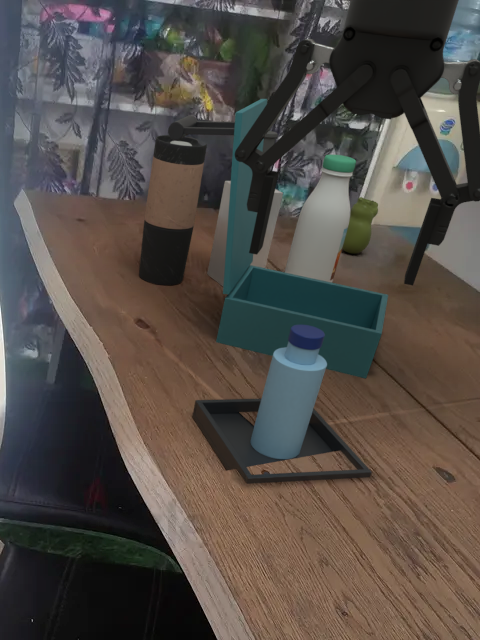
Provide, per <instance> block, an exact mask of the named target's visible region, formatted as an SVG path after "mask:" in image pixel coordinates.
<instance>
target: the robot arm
mask: <svg viewBox="0 0 480 640" xmlns="http://www.w3.org/2000/svg"><path fill="white" fill-rule="evenodd" d="M458 4H459V0H350V1H349V4H348V9H347V13H346V16H345V20H344V21H345V22H344V25H343V29H342V33H341V36H340V39H339V41H338V42H337V44H336V46H334V47H332V46H328V45H325V44H321V43H317V42H316V41H315V39H313V38H305V39H302V40H300V41H299V43H297V46H296V48H295V51H294V56H293V58H292V61H291V64H290V68H289V70H288V73H287V74H286V75H285V76H284V79H282V81H281V83H280V85H278V87H277V88H276V90H275V92H274V93H273V94H272V96H271V98H270V99H269V101H267V105H266V106H265V108H264V109H263V111H262V112H261V114H260V115H259V117H258V118H257V120H256V121H255V123H254V124H253V126H252V127H251V129H250V130H249V131H248V133H247V134H246V136H245V137H244V139H243V140H242V142H241V143H240V145H239V146H238V148H237V149H236V151H235V159H236V160H237V161H239V162H243V163H244V164H246V165H248V166H249V167H250V168H251V170H252V180H251V185H250V190H249V195H248V201H247V209H248V211H252V212H257V217H256V222H255V226H254V231H253V236H252V241H251V246H250V250H249V253H251V254H256V255H257V254H258V253H259V251H260V250H261V249H262V247H263V243H264V238H265V234H266V229H267V225H268V220H269V215H270V211H271V206H272V202H273V197H274V192H275V189H277V188H276V187H277V183H278V179H279V174H280V172H279V171H276V170H271V168H272V166H273V165H275V164H276V163H277V162H278V161H280V159H282V158H283V157H284V156H285V155H286V154H287V153H288V152H290V151H291V150H292V149H293V148H294V147H295V146H296V145H297V144H298V143H299V142H300V141H302V140H303V139H304V138H305V137H306V136H308V135H309V134H310V133H311V132H312V131H313V130H315V128H317V127H318V126H319V125H320V124H321V123H322V122H323V121H325V120H326V119H327V118H328V117H329V116H330V115H332V113H334V112H335V111H336V110H337V109H339V107H340V106H342V105H343V107H344V108H345V110H347V111H348V112H350V114H352V115H356V116H364V115H365V116H366V115H373V116H375V117H378V118H380V119H384V120H385V119H386V120H392V119H396V118H398V117H401V116H402V115H404V116H405V118H406V120H407V123H408V125H409V127H410V129H411V131H412V133H413V135H414V138H415V140H416V142H417V145H418V146H419V149H420V152H421V154H422V157H423V159H424V161H425V163H426V166H427V168H428V170H429V173H430V175H431V177H432V180H433V182H434V184H435V186H436V189H437V192H438V193H439V196H440V198H435V197H430V201H429V203H428V206H427V210H426V212H425V214H424V218H423V221H422V224H421V227H420V229H419V232H418V236H417V239H416V241H415V245H414V248H413V250H412V254H411V255H410V259H409V262H408V265H407V267H406V271H405V274H404V280H403V284H404V285H408V286H414V285H415V281H416V278H417V276H418V273H419V270H420V267H421V265H422V261H423V258H424V255H425V253H426V249H427V247H428V245H433V246H440V245H441V244H442V243H443V241H444V240H445V238H446V236H447V232H448V230H449V226H450V224H451V221H452V219H453V215H454V213H455V211H456V209H457V207H458V206H460V205H462V204H464V203H469V202H475V203H476V202H480V121H479V109H478V101H477V100H478V99H477V94H478V91H479V86H480V60H479V59H476V58H472V59H469V60H468V61H445V60H444V59H445V58H444V49H445V46H446V42H447V39H448V36H449V33H450V29H451V27H452V23H453V19H454V16H455V14H456V13H455V12H456V10H457V7H458ZM323 64H328V66H329V69H330V72H331V74H332V78H333V80H334V83H335V86H336V88H334V90H332V91H331V92H330V93H329V94H328V95H327V96H326V97H324V99H322V101H320V102H319V103H318V104H317V105H316V106H314V108H312V110H310V111H309V112H308V113H307V114H306V115H305V116H304V117H303V118H301V119H300V120H299V121H298V122H297V123H296V124H295V125H294V126H292V128H290V129H289V130H288V131H286V133H285V134H284V135H283V136H282V137H280V138H279V139H278V140H277V141H275V143H274V145H273V146H272V147H270V148H269V149H268V150H267V151H266V152H265V153H263V152H262V151H260V150H258V149H257V147H258V146H259V144H260V143H261V141H262V140H263V139H264V137H265V136H266V134H267V133H268V131H271V129H272V127H273V126H274V125H275V123H276V122H277V120H278V119H279V117H280V116H281V114H282V113H283V111H284V110H285V108H286V107H287V106H288V104H289V103H290V101H291V100H292V99H293V97H294V96H295V94H296V93H297V92H298V90H299V88H300V87H301V86H302V85H303V83H304V81H305V79H306V77H307V76H308V75H313V74H315V73H317V72H318V71H319V69H320V68H321V66H323ZM441 79H445V80H446V81H447V82H448V90H449V92H450V93H451V94H453V95H458V96H457V104H458V105H457V106H458V114H459V115H458V116H459V124H460V130H461V139H462V148H463V155H464V165H465V172H466V180H467V182H463V183H458V184H457V182H456V179H455V177H454V175H453V171H452V169H451V167H450V165H449V163H448V159H447V158H446V156H445V154H444V153H445V152H444V151H443V148H442V146H441V144H440V141H439V139H438V136H437V134H436V132H435V130H434V126H433V125H432V122H431V119H430V117H429V115H428V112H427V109H426V107H425V105H424V102H423V100H422V97H424V95H426V94H427V93H428V92H429V91H430V90H431V89H432V88H433V87H434V86H435V85H437V84H438V82H439V81H440V80H441Z"/></svg>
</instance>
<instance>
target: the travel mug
mask: <svg viewBox="0 0 480 640" xmlns="http://www.w3.org/2000/svg"><path fill="white" fill-rule="evenodd" d="M153 148H154V149H153V156H152V161H151V162H152V163H151V170H150V177H149V182H148V183H149V184H148V191H147V198H146V205H145V210H144V211H145V212H144V221H143V229H142V239H141V249H140V258H139V260H140V261H139V268H138V276H139V278H141V280H143V281H145V282H147V283H151V284H154V285H159V286H176V285H179V284H181V283H182V282H183V280H184V276H185V271H186V266H187V262H188V256H189V251H190V247H191V242H192V238H193V232H194V227H195V221H196V215H197V209H198V203H199V197H200V190H201V184H202V179H203V172H204V167H205V159H206V153H207V148H208V143H206V144H204V145H202V144H201V143H200V140H199V139H197V138H195V137H190V136H185V137H183V138H181V139H179V140H173V139H171V138H170V136H169V134H161V135H157V136H156V138H155V140H154V147H153Z"/></svg>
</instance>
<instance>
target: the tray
mask: <svg viewBox="0 0 480 640" xmlns="http://www.w3.org/2000/svg"><path fill="white" fill-rule="evenodd" d="M261 399H262V398H230V399H229V398H228V399H227V398H225V399H223V398H222V399H196V400H195V401H194V406H193V411H192V419H193V420H194V422H195V423H196V425H197V426H198V428H199V429H200V432H201V433H202V434H203V436H204V437H205V439H206V440H207V442H208V444H209V445H210V446H211V448H212V450H213V451H214V453H215V455H216V456H217V457H218V459H219V461H220V462H221V464H222V465H223V467H224V469H225V470H226V471H232V470H237V472H238V473H239V475H240V476H241V477H242V479H243V480H244V482H245V483H246V484H247V485H250V484H253V485H254V484H271V483H289V482H291V483H292V482H306V481H328V480H345V479H346V480H347V479H349V480H350V479H365V478H366V479H367V478H371V476H372V473H373V472H372V470H371V469H370V468H369V467H368V466H367V465H366V464H365V463H364V462H363V460H362V459H361V458H360V457H359V456H358V455H357V454H356V453H355V451H353V449H352V448H351V447H350V446H349V445H348V443H346V442H345V441H344V440H343V438H341V437H340V436H339V434H338V433H337V432H336V431H335V430H334V429H333V427H331V425H329V423H328V422H327V421H326V420H325V419H324V418H323V417H322V416H321V415H320V414H319V412H317V410H316V409H315V407H314V408H313V412H312V415H311V418H310V421H309V424H308V428H307V431H306V434H305V437H304V440H303V444H302V447H301V450H300V453H299V454H298V456H296V457H294V458H291V459H275V458H271V457H267V456H265V455H263V454H261V453H259V452H257V451H256V450H255V449H254V448H253V447H252V445H251V437H252V433H253V429H254V425H255V424H253V423H252V422H250V421H249V420H248V419H247V418H246V417H245V416H244V415H243V414H242V413H258V410H259V406H260V402H261ZM334 452H342V454H343V455H344V456H345V457H346V459H348V461H349V462H350V463H351V464H352V465H353V466H354V467H355V468H356V469H344V470H343V469H338V470H322V471H321V470H319V471H303V472H302V471H301V472H280V473H260V474H252V473H251V472H250V470H249V468H250V467H254V466H261V465H266V464H272V463H277V462H282V461H289V460H294V459H300V458H306V457H310V456H311V457H312V456H317V455H322V454H328V453H334Z"/></svg>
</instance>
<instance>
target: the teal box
mask: <svg viewBox="0 0 480 640" xmlns="http://www.w3.org/2000/svg"><path fill="white" fill-rule="evenodd" d="M388 300H389V294H386V293H382V292H378V291H373V290H367V289H363V288H359V287H354V286H351V285H345V284H340V283H335V282H332V283H331V282H327V281H322V280H317V279H313V278H308V277H303V276H299V275H294V274H289V273H285V271H280V270H275V269H270V268H267V267H265V268H262V267H257V266H252V265H250V266H249V267H248V269H247V270H246V271H245V273H244V274H243V275H242V277H241V278H240V280H239V281H238V282H237V284H236V285H235V287H234V288H233V289H232V291H231V292H230V293H229V294H226V296H225V297H224V303H223V306H222V311H221V316H220V319H219V326H218V329H217V334H216V340H215V343H216V344H217V343H218V344H222V345H226V346H229V347H234V348H237V349H242V350H246V351H250V352H254V353H258V354H262V355H267V356H270V357H273V353H274V351H275V350H277V349H279V348H284V347H287V345H288V337H289V334H290V330H291V327H292V326H294V325H309V326H313V327H316V328H318V329H320V330H322V331H323V332H324V334H325V336H324V340H323V343H322V346H321V348H320V349H319V353H318V355H320V356H322V357H323V358H324V359H325V360H326V362H327V367H326V370H329V371H332V372H336V373H341V374H344V375H349V376H353V377H357V378H361V379H367V377H368V375H369V373H370V369H371V366H372V364H373V360H374V358H375V354H376V351H377V349H378V345H379V343H380V340H381V338H382V335H383V330H384V329H383V328H384V322H385V317H386V310H387V305H388Z"/></svg>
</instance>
